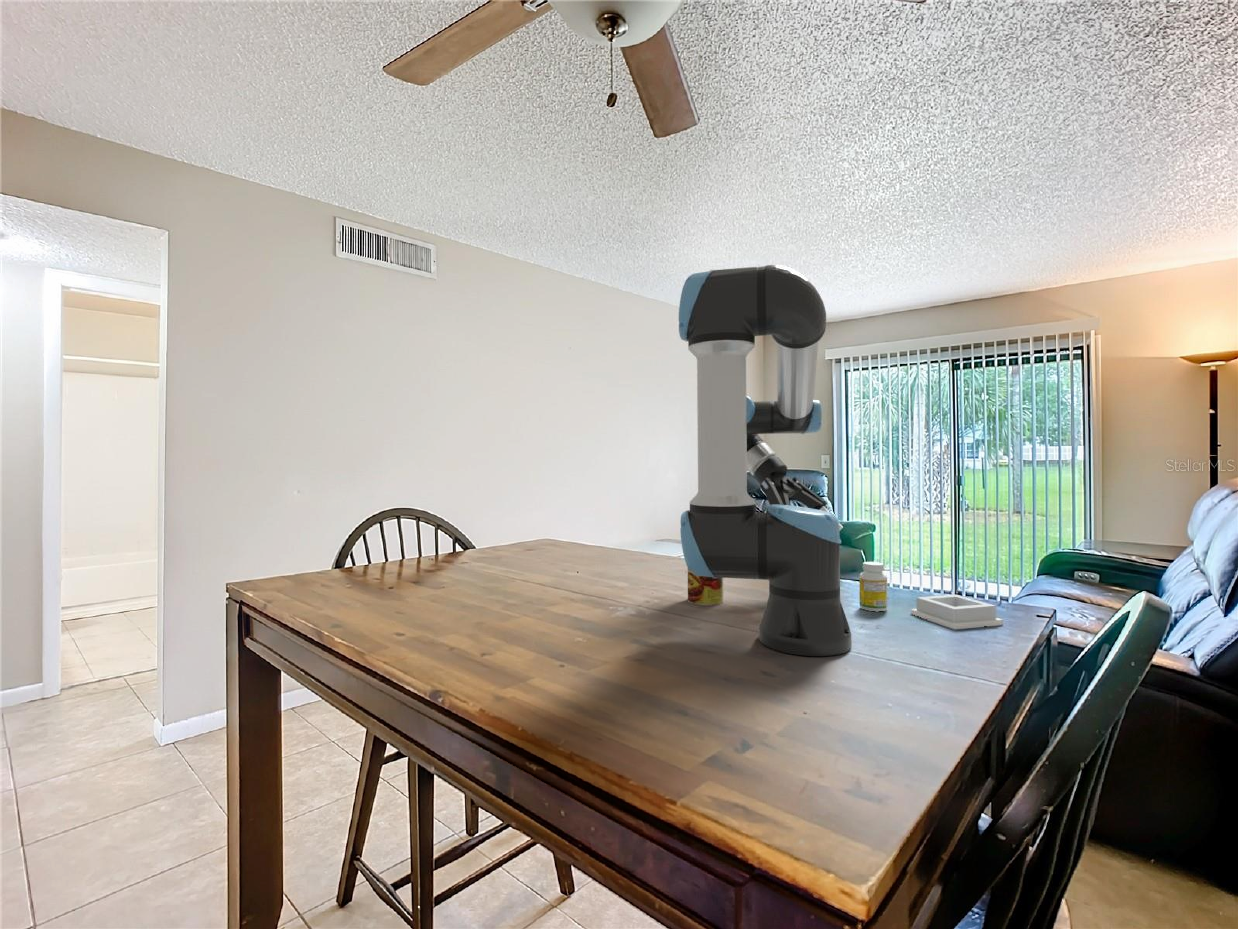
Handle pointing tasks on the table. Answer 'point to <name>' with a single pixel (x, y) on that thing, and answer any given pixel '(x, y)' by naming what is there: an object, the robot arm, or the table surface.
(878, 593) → the supplement bottle
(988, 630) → the table surface
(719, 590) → the canned food
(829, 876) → the table surface
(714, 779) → the table surface
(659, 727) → the table surface
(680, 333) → the robot arm
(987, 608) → the socket collar
